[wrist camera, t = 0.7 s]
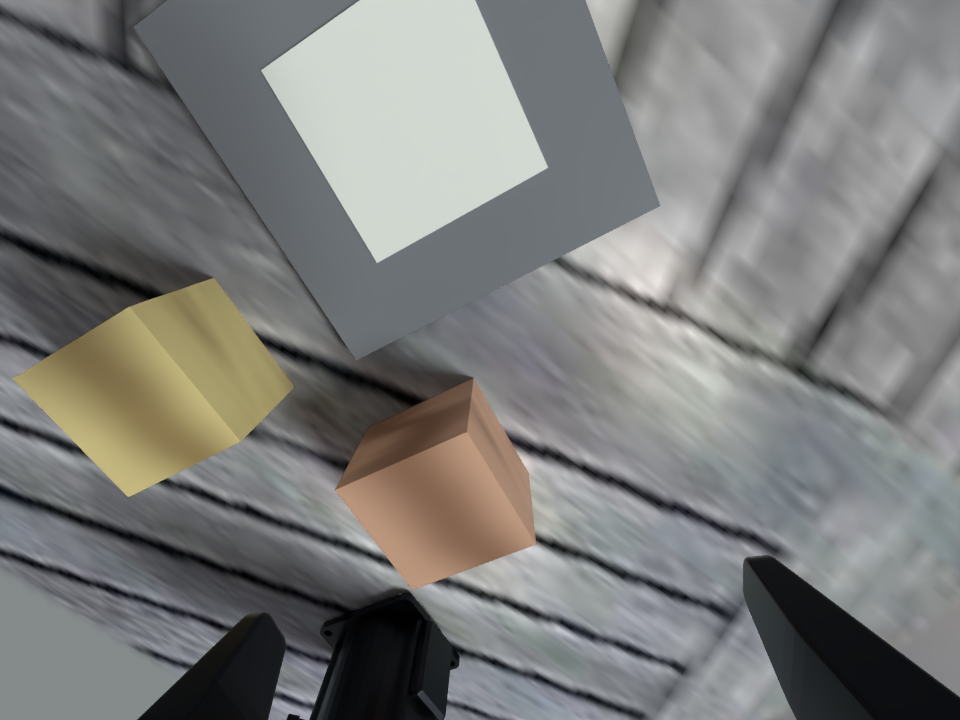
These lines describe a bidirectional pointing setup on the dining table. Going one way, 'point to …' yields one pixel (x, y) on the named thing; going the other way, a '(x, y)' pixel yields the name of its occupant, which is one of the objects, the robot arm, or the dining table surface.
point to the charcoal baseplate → (409, 141)
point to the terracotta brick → (440, 487)
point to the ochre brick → (160, 385)
